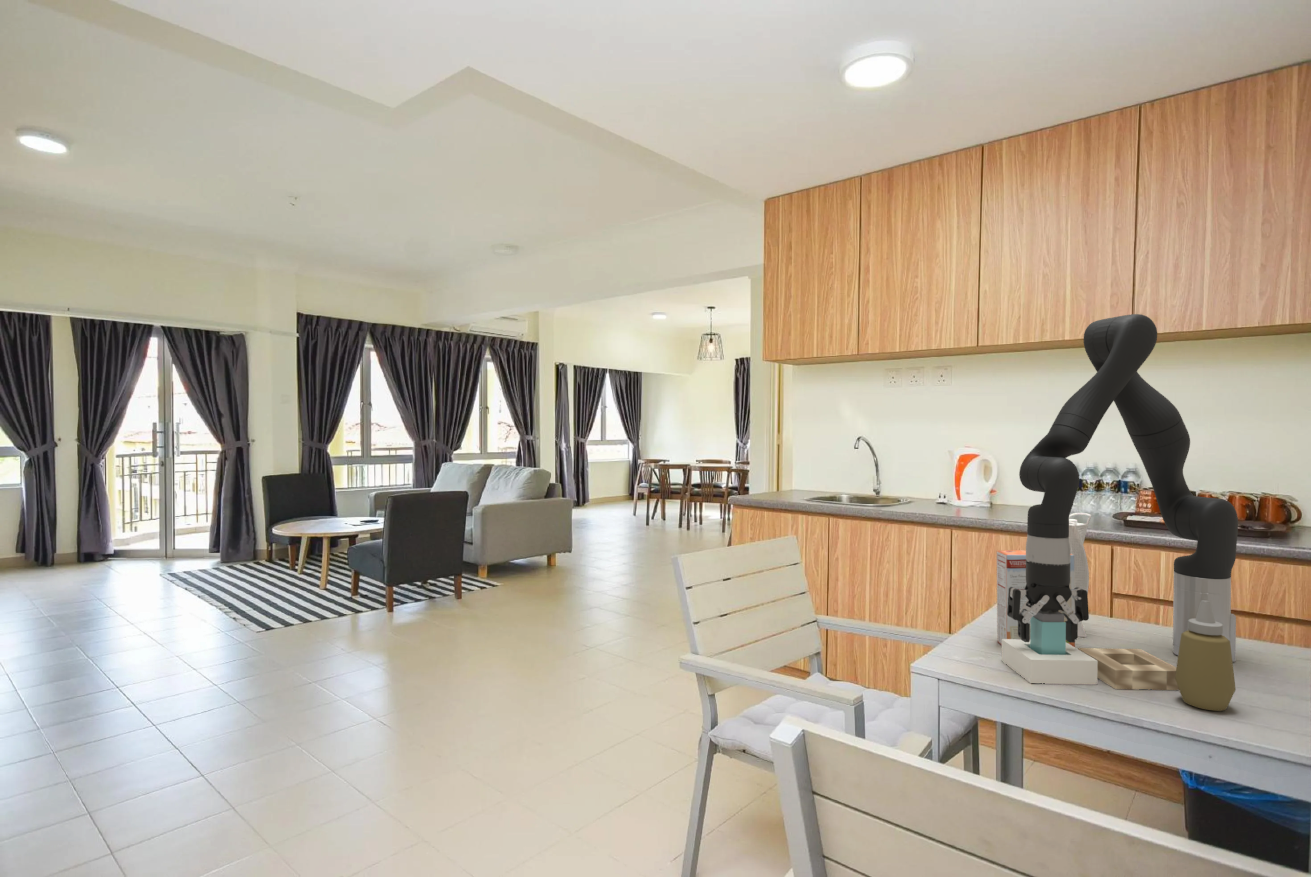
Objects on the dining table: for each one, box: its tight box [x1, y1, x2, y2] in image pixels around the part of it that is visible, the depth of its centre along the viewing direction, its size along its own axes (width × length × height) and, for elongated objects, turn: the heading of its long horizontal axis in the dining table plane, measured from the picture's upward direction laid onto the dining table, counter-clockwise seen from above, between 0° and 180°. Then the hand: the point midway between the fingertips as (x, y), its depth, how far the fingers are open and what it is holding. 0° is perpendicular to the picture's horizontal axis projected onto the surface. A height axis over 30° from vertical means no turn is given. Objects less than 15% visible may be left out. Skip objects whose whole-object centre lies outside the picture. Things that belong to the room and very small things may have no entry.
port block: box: [1001, 639, 1098, 686], centre depth 130 cm, size 12×12×5 cm
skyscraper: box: [1069, 512, 1092, 638], centre depth 154 cm, size 8×8×28 cm
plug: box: [1030, 610, 1066, 655], centre depth 130 cm, size 4×4×12 cm
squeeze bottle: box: [1175, 600, 1237, 712], centre depth 115 cm, size 8×8×18 cm
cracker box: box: [996, 549, 1076, 648], centre depth 145 cm, size 14×6×21 cm, turn 84°
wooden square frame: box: [1077, 647, 1180, 691], centre depth 128 cm, size 12×12×4 cm
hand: (1047, 641), depth 130 cm, fingers open, 8 cm apart
